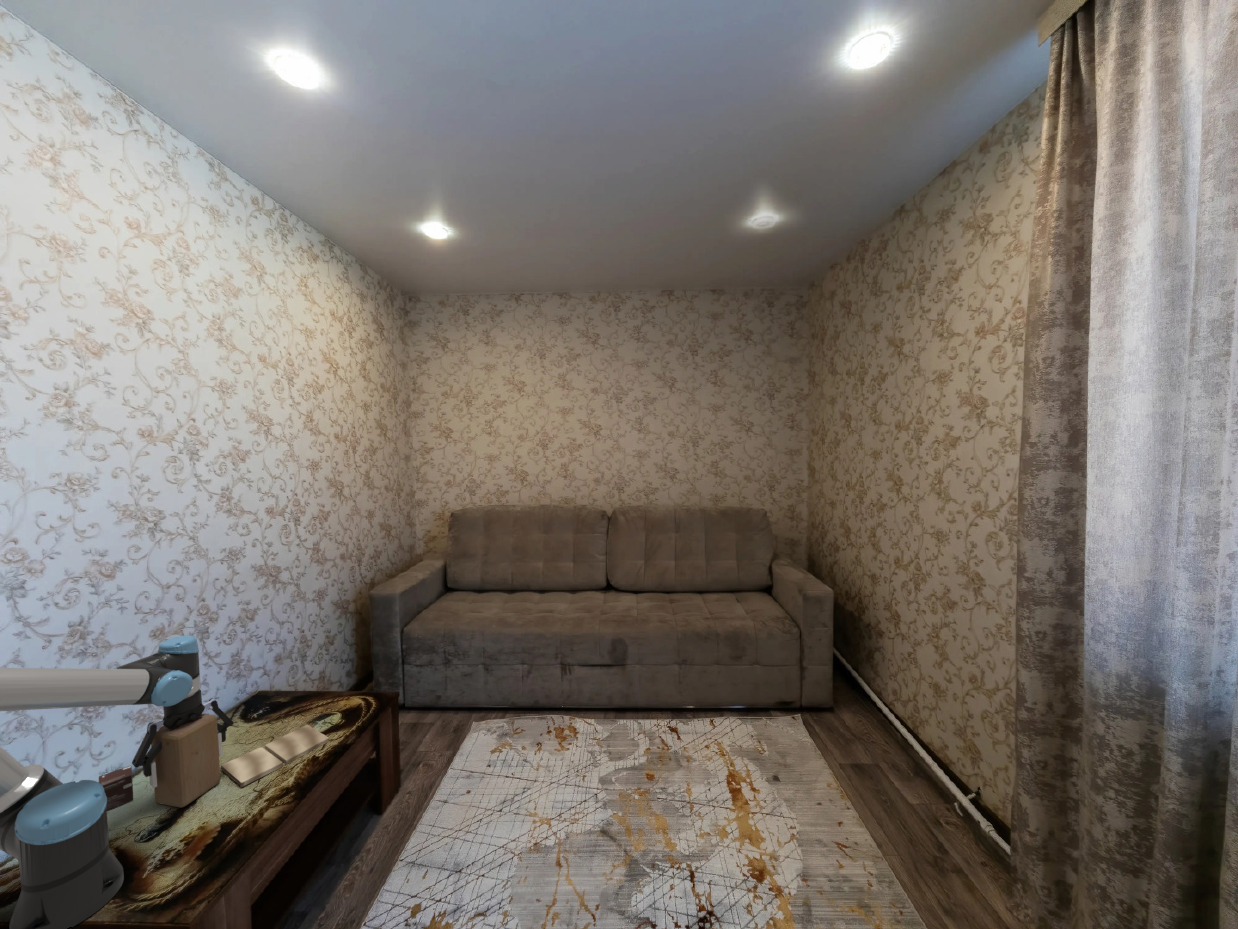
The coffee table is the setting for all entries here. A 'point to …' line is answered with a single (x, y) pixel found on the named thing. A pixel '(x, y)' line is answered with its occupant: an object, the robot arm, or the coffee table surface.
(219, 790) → the coffee table surface
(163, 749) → the wooden block
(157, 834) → the coffee table surface
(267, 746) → the laid boards
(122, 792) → the box
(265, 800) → the coffee table surface
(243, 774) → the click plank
